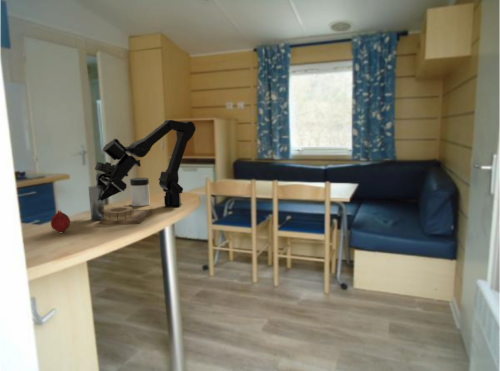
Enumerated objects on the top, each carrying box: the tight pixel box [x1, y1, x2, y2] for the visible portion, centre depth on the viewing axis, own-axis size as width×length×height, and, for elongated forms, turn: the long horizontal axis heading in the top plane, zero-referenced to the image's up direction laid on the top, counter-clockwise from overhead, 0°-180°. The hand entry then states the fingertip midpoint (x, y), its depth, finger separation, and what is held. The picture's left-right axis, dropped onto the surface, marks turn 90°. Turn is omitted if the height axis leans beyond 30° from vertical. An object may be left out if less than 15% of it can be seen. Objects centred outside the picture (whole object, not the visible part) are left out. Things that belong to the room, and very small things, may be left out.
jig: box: [99, 205, 153, 225], centre depth 140 cm, size 15×18×4 cm
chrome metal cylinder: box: [88, 184, 105, 222], centre depth 138 cm, size 5×5×13 cm
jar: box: [129, 177, 151, 207], centre depth 164 cm, size 9×8×12 cm
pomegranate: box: [50, 209, 71, 233], centre depth 121 cm, size 6×6×8 cm
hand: (96, 198), depth 138 cm, fingers open, 9 cm apart
